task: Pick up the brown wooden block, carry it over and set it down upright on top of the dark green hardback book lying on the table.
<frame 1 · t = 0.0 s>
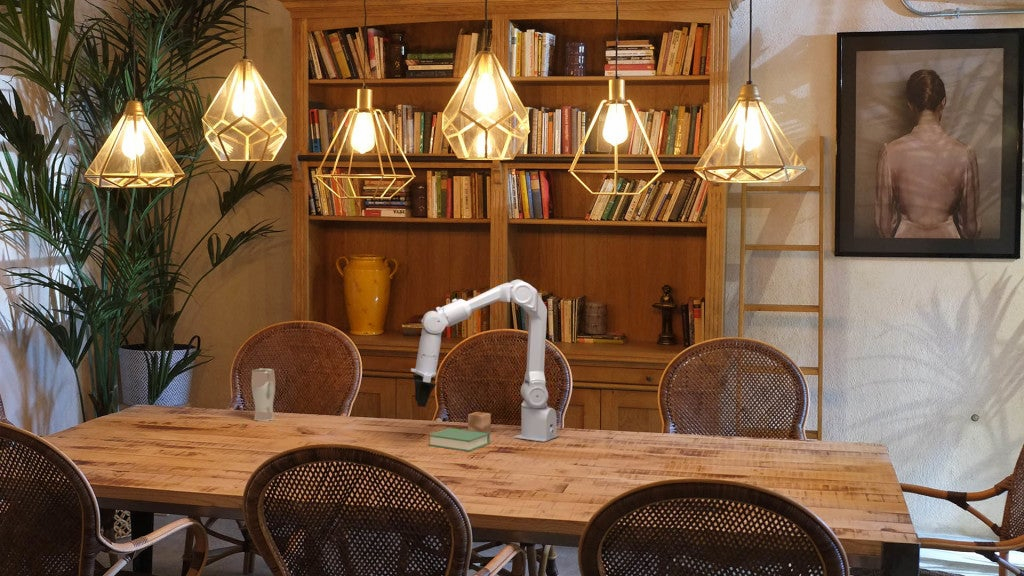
hand: (420, 403, 287), 11 cm above the table, tool pointing down, fingers open, 7 cm apart
brown wooden block: (479, 434, 296), on the table
beer glass: (264, 419, 317), on the table
green book: (459, 444, 284), on the table
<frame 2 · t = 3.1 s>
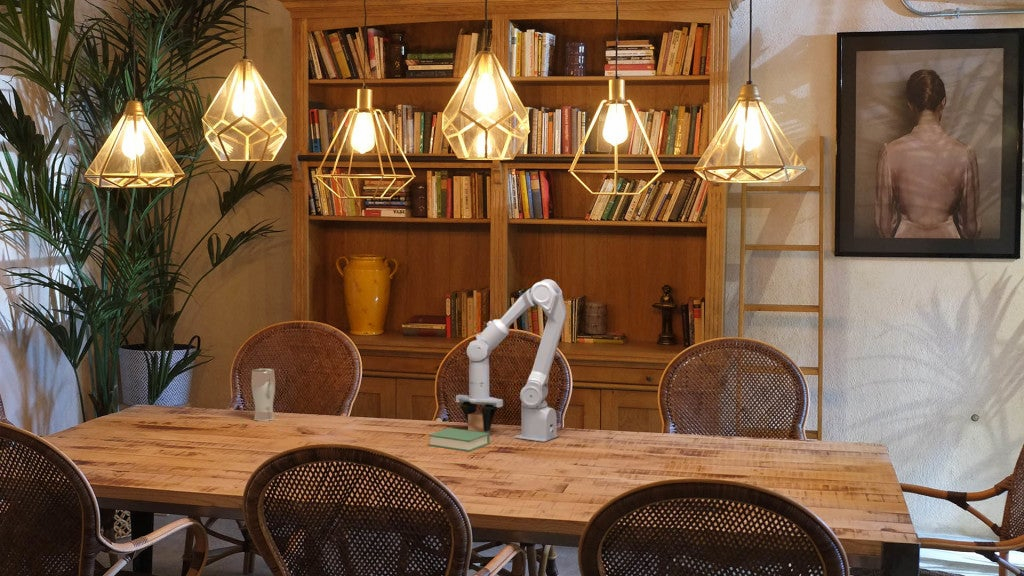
hand: (479, 429, 296), 1 cm above the table, tool pointing down, fingers closed on brown wooden block, 5 cm apart
brown wooden block: (479, 434, 296), on the table, touching gripper
everything else where it was.
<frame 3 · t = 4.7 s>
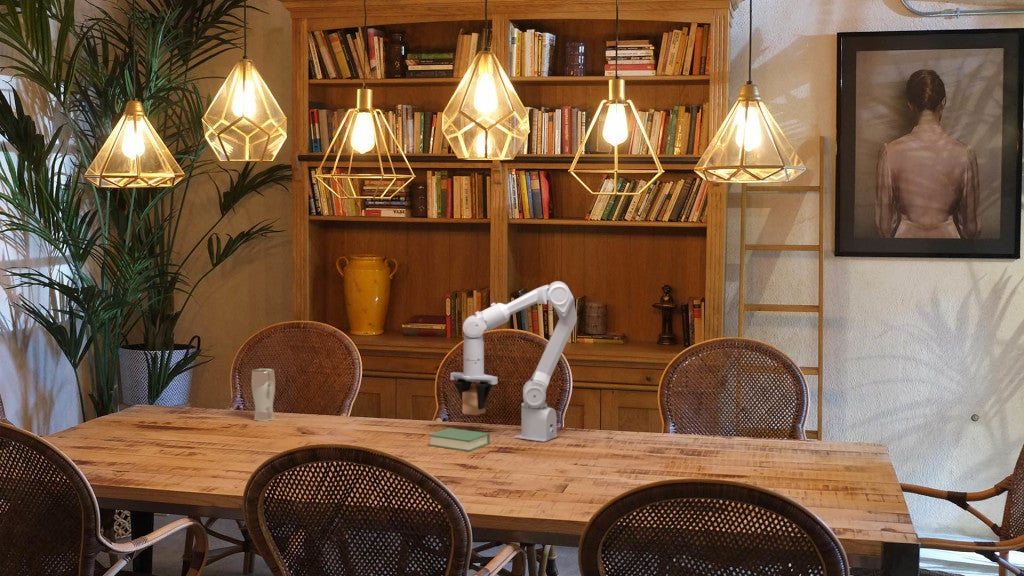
hand: (473, 407, 292), 8 cm above the table, tool pointing down, fingers closed on brown wooden block, 5 cm apart
brown wooden block: (473, 412, 293), point 7 cm above the table, touching gripper
everything else where it was.
when the fingers open (5 cm above the table, at t = 6.7 s): brown wooden block stays where it is, resting on green book.
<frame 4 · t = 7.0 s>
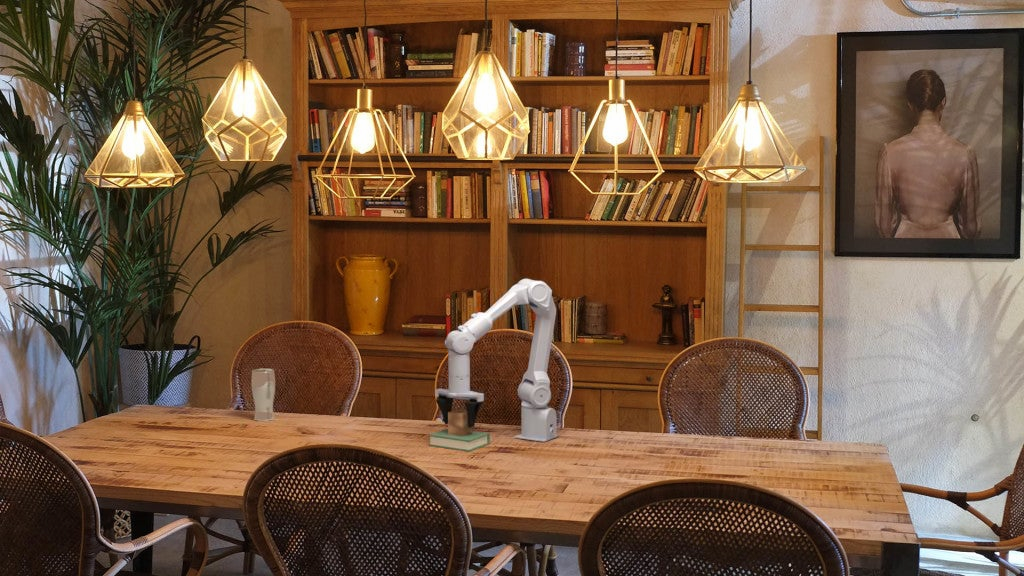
hand: (459, 425, 284), 5 cm above the table, tool pointing down, fingers open, 7 cm apart
brown wooden block: (459, 433, 284), point 3 cm above the table, touching green book
everything else where it was.
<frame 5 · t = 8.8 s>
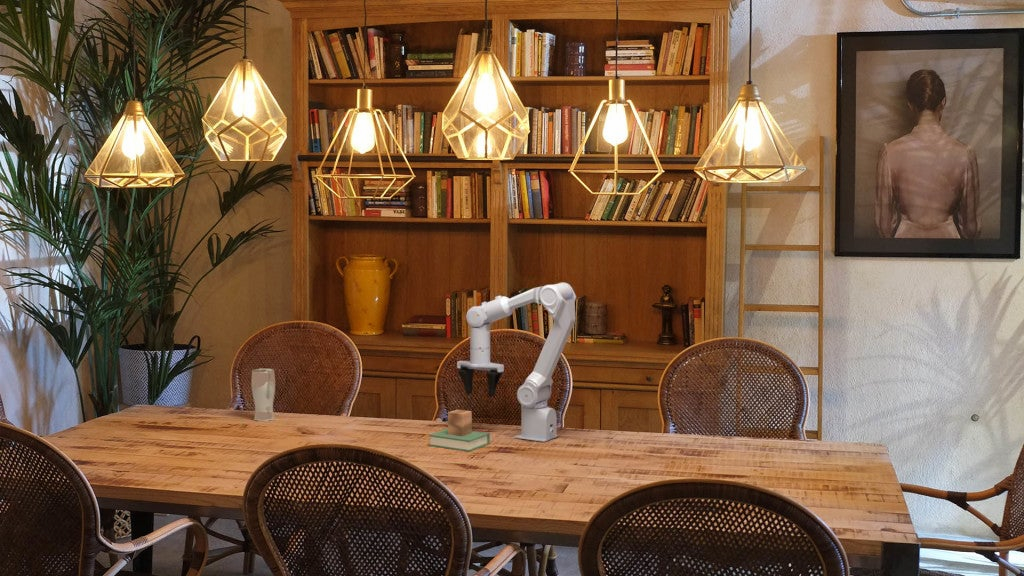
hand: (480, 394, 300), 10 cm above the table, tool pointing down, fingers open, 7 cm apart
nothing on the table moved.
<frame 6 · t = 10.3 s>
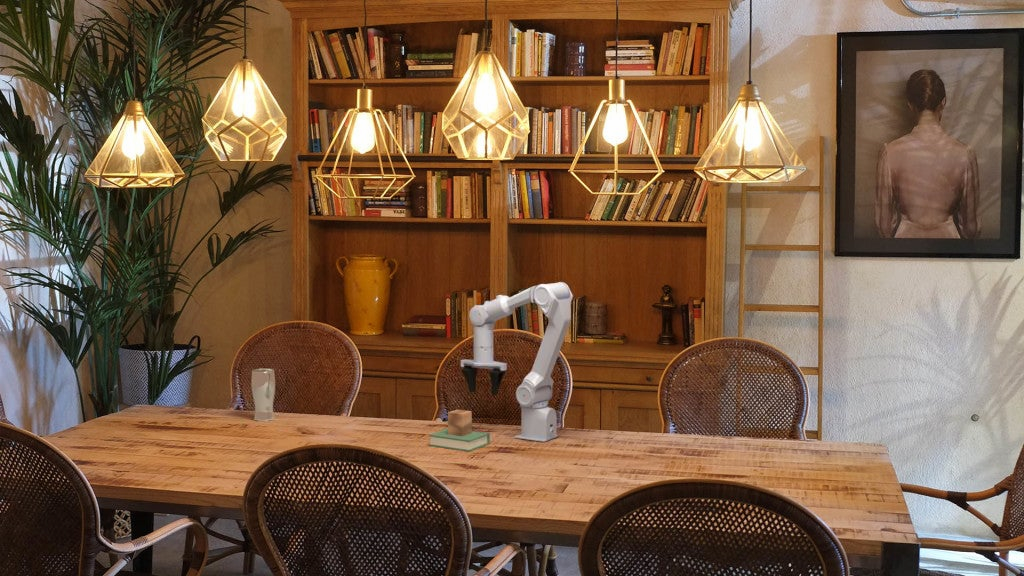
hand: (483, 393, 303), 10 cm above the table, tool pointing down, fingers open, 7 cm apart
nothing on the table moved.
at the end: brown wooden block 0.3 cm off-centre on the green book, point 3.0 cm above the green book's base; brown wooden block tilted 0°; the gripper is holding nothing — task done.
